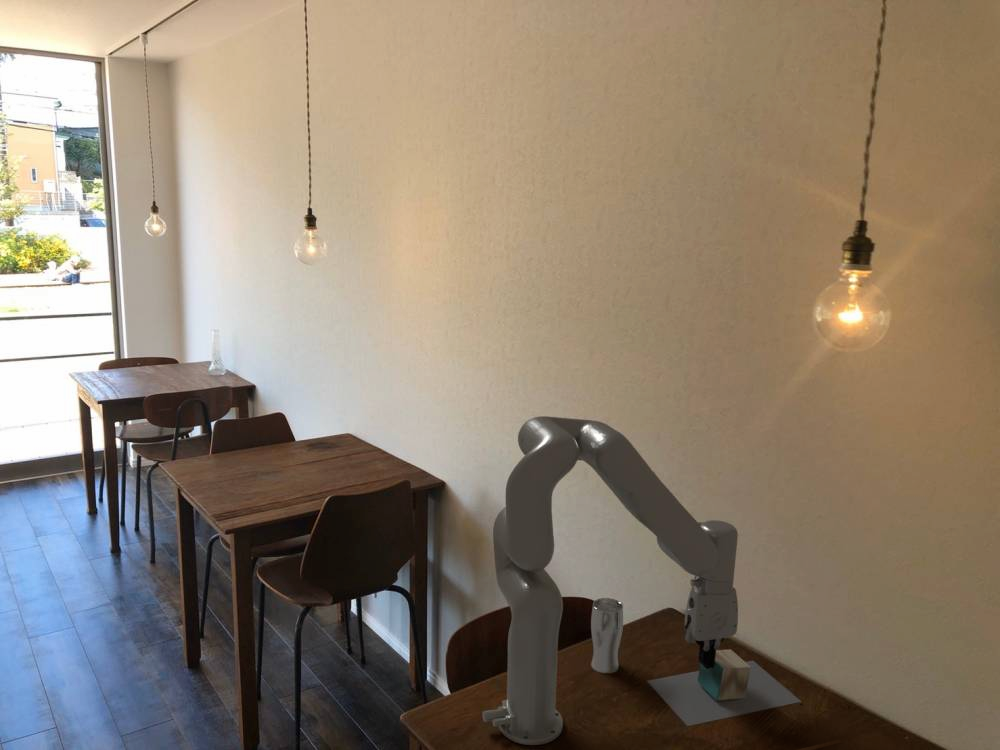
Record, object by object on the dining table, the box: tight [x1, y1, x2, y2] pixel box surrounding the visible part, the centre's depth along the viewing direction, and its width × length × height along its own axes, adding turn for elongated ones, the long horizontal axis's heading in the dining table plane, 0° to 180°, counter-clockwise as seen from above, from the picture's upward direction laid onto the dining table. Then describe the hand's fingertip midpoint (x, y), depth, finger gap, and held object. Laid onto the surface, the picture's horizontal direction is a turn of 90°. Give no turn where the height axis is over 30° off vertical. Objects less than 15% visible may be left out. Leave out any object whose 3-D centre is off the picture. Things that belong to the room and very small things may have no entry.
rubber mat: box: [646, 660, 802, 727], centre depth 163 cm, size 27×16×1 cm, turn 109°
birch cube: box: [697, 648, 751, 700], centre depth 162 cm, size 7×7×7 cm
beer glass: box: [590, 597, 624, 674], centre depth 170 cm, size 7×7×15 cm
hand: (706, 664), depth 160 cm, fingers closed
